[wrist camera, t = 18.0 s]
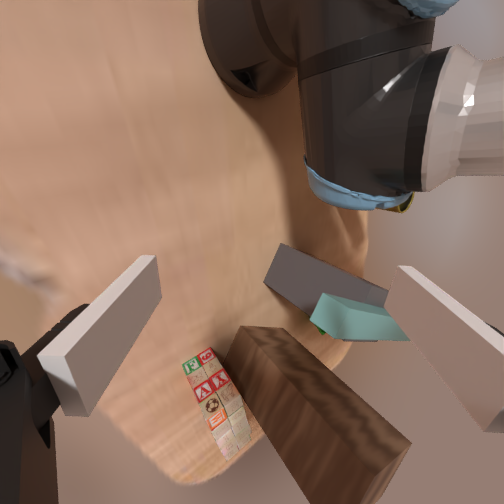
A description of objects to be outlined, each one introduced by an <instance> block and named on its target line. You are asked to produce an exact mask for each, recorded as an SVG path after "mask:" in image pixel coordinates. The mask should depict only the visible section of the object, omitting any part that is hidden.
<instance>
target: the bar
mask: <svg viewBox="0 0 504 504" xmlns="http://www.w3.org/2000/svg"><path fill="white" fill-rule="evenodd" d="M310 321H312V322H313V323H314V324H316V325H317V326H318V327H320V328H321V329H322V330H324V331H325V332H326V333H328V334H329V335H330V336H332V337H333V338H334V339H357V340H393V341H410V339H409V338H408V337H407V335H406V334H405V333H404V332H403V330H402V329H401V328H400V327H399V325H398V324H397V323H396V322H395V320H394V319H393V318H392V317H391V315H390V314H389V313H388V312H387V310H386V309H384V308H380V307H377V306H373V305H369V304H365V303H361V302H357V301H353V300H349V299H346V298H342V297H338V296H334V295H330V294H326V293H322V295H321V297H320V299H319V301H318V303H317V306H316V308H315V310H314V312H313V314H312V316H311V318H310Z"/></svg>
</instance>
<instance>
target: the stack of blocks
mask: <svg viewBox="0 0 504 504" xmlns="http://www.w3.org/2000/svg"><path fill="white" fill-rule="evenodd" d="M182 367H183V369H184V372H185V374H186V377H187V379H188V381H189V383H190V385H191V388H192V390H193V393H194V395H195V397H196V399H197V402H198V404H199V406H200V408H201V411H202V413H203V415H204V418H205V420H206V422H207V424H208V426H209V428H210V431H211V433H212V434H213V436H214V439H215V441H216V443H217V445H218V447H219V448H220V450H221V452H222V454H223V455H224V457H225V459H226V461H228V460H229V459H230V458H231V457H232V456H234V455H235V454H236V453H237V452H238V451H239V450H240V449H241V448H242V447H244V446H245V445H246V444H247V443H248V442H249V441H250V440H251V438H250V435H249V434H251V433H252V431H251V428H250V425H249V423H248V420H247V417H246V412H245V409H244V406H243V402H242V398H241V395H240V393H239V392H238V390H237V389H236V387H235V385H234V384H233V382H232V381H231V379H230V377H229V376H228V374H227V373H226V371H225V370H224V368H223V367H222V365H221V364H220V362H219V361H218V359H217V357H216V355H215V354H214V352H213V351H212V349H211V348H208V349H207V350H205V351H203V352H202V353H200V354H199V355H197V356H196V357H194V358H192V359H191V360H189V361H187V362H186V363H184V364H182Z"/></svg>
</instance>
